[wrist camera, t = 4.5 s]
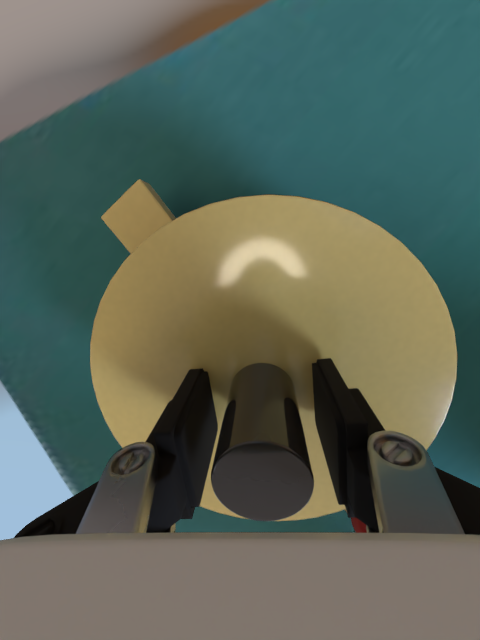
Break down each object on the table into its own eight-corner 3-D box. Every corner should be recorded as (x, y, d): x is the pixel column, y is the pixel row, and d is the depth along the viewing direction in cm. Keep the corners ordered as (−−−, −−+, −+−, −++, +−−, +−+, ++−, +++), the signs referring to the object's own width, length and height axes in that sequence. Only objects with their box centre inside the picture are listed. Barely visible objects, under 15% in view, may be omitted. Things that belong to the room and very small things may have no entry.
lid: (311, 100, 9) (385, -111, 4) (499, 415, 12) (697, 562, 6) (42, 341, 13) (-120, 416, 7) (234, 535, 16) (218, 691, 10)
